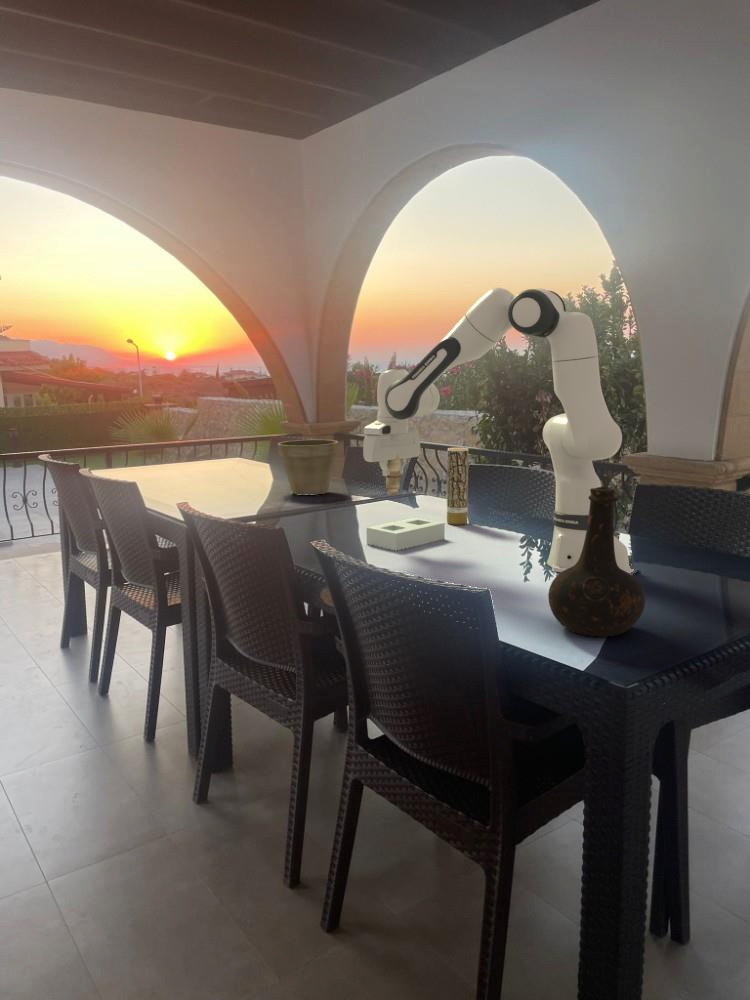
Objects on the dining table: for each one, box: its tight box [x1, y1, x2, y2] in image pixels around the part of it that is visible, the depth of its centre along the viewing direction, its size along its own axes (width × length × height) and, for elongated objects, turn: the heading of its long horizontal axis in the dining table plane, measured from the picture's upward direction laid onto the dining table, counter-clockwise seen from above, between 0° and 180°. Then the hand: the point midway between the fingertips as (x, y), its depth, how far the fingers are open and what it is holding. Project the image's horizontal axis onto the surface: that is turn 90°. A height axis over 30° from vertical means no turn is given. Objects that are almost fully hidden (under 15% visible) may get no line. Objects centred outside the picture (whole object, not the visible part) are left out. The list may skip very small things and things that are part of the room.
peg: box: [385, 453, 401, 496], centre depth 210 cm, size 4×4×12 cm
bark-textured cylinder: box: [446, 447, 469, 526], centre depth 240 cm, size 7×7×25 cm
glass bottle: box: [547, 486, 646, 638], centre depth 140 cm, size 18×18×28 cm
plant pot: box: [277, 439, 339, 495], centre depth 304 cm, size 25×25×22 cm
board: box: [366, 517, 446, 552], centre depth 217 cm, size 12×21×5 cm, turn 134°
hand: (392, 475), depth 210 cm, fingers closed on peg, 4 cm apart
